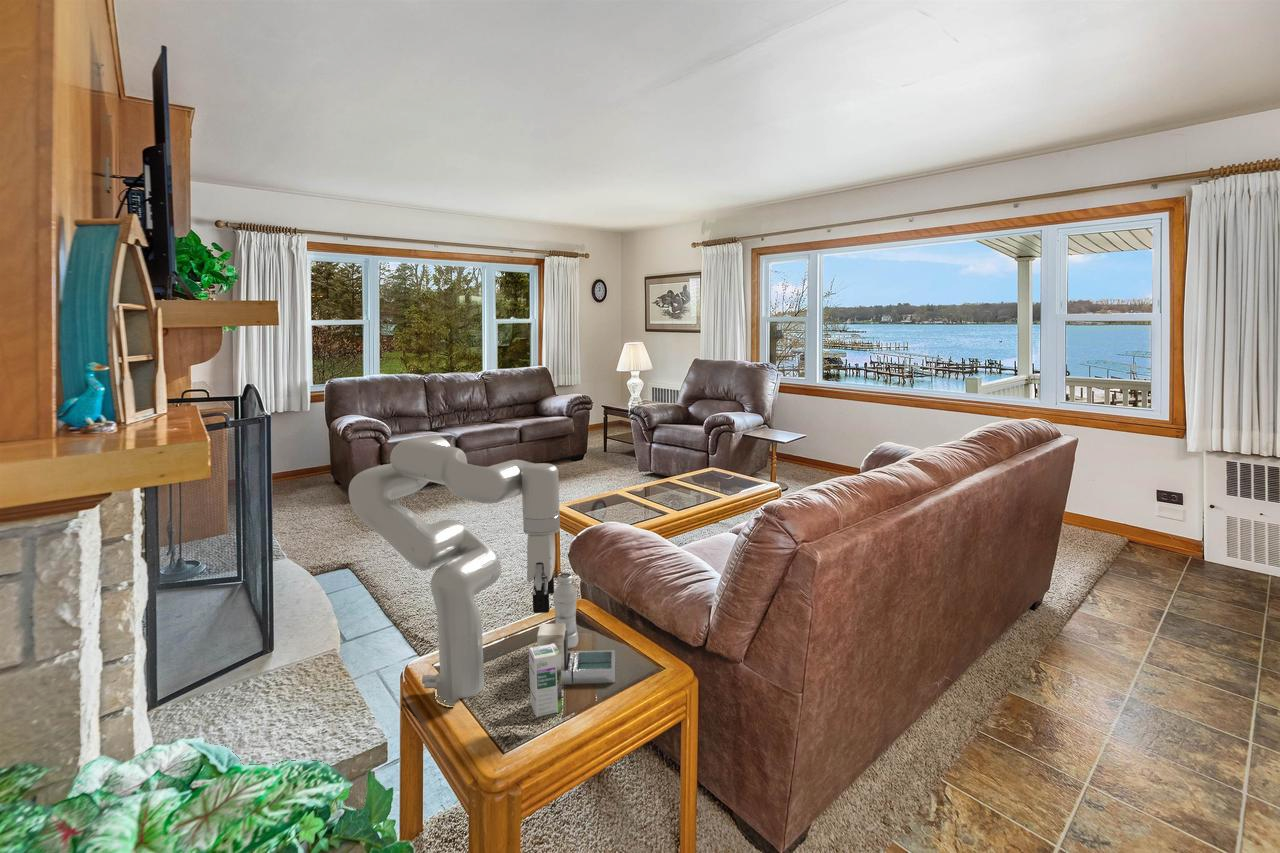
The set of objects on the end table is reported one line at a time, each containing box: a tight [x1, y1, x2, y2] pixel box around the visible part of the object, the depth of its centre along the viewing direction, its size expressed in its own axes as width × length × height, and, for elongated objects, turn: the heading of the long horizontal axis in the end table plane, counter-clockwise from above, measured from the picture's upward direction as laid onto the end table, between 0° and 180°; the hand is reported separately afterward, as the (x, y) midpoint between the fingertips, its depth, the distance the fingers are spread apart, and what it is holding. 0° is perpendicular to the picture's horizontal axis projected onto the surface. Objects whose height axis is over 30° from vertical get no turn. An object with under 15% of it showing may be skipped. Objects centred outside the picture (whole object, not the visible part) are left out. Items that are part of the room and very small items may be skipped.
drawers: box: [528, 649, 617, 686], centre depth 146 cm, size 20×10×4 cm, turn 92°
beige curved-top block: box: [536, 623, 569, 670], centre depth 145 cm, size 6×6×11 cm
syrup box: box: [528, 643, 563, 718], centre depth 131 cm, size 6×6×14 cm
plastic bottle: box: [552, 572, 579, 650], centre depth 160 cm, size 6×7×20 cm
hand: (544, 602), depth 129 cm, fingers open, 9 cm apart
